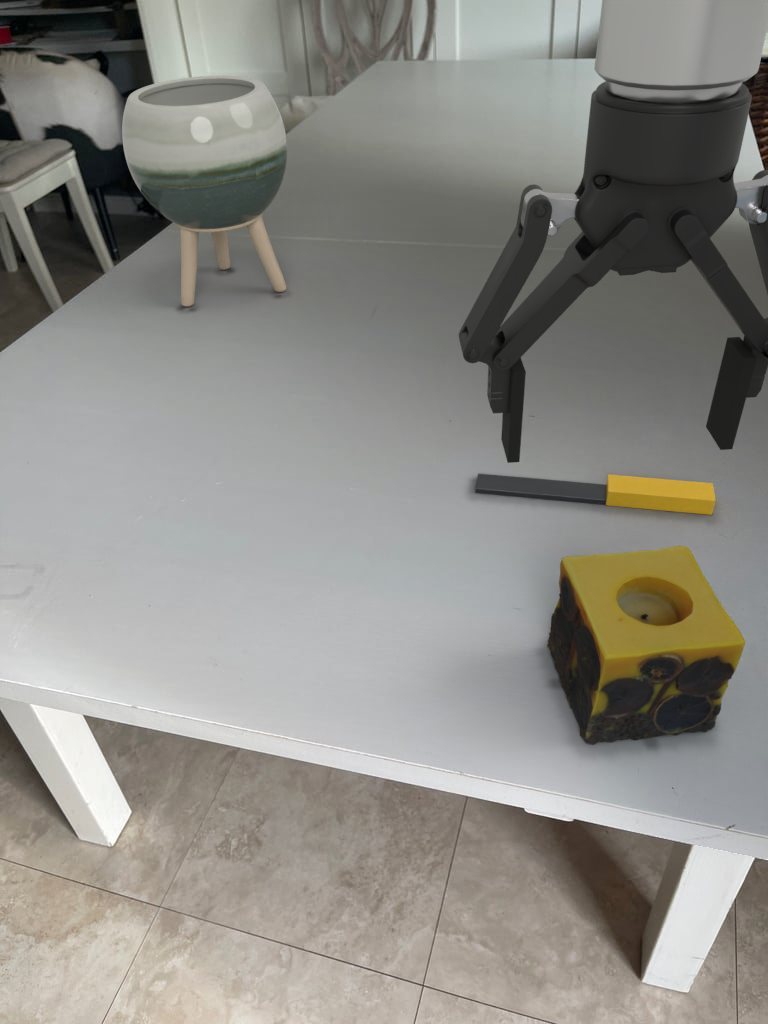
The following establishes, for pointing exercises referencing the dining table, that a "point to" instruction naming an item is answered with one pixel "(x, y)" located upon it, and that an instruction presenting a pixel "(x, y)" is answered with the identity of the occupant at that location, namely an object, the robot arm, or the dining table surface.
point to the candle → (641, 644)
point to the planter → (208, 162)
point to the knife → (609, 492)
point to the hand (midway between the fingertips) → (614, 444)
